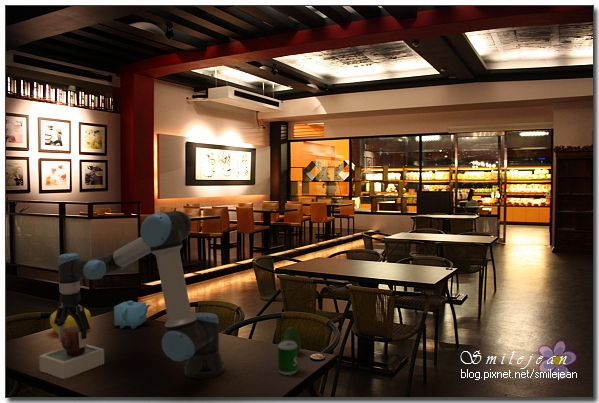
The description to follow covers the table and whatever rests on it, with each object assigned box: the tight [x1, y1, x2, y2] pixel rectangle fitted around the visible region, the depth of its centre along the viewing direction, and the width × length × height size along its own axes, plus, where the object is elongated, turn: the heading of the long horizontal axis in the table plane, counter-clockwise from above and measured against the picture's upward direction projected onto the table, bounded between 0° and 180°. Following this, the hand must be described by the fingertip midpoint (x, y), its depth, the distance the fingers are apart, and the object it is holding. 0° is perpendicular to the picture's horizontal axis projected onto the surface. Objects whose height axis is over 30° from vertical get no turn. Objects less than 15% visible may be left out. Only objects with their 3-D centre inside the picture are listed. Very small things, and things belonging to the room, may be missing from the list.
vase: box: [49, 303, 92, 335], centre depth 247 cm, size 18×18×19 cm
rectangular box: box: [38, 344, 105, 380], centre depth 203 cm, size 16×18×6 cm
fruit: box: [282, 326, 302, 354], centre depth 215 cm, size 8×8×12 cm
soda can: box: [277, 340, 298, 376], centre depth 196 cm, size 8×8×12 cm
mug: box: [61, 326, 86, 356], centre depth 202 cm, size 12×9×10 cm
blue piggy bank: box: [113, 300, 152, 329], centre depth 257 cm, size 18×16×13 cm
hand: (72, 344), depth 202 cm, fingers open, 13 cm apart
